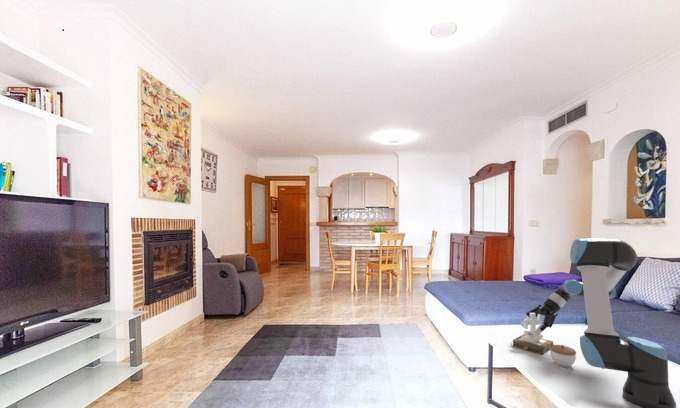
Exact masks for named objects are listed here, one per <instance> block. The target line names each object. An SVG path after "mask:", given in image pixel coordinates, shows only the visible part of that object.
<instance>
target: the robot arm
mask: <svg viewBox="0 0 680 408" xmlns="http://www.w3.org/2000/svg"><path fill="white" fill-rule="evenodd" d="M569 254H570V255H569V257H570V262H571V263H572V264H574V265H576V269H577V270H579V272H580V273H581V280H582V281H578V280H576V279H566V280H565V281H563V282H562V283H561V285H559V287H557V289H555V291H554V292H552V294H551V295H550V296H549V297H548V298H546V300H545V301H544V302H543V305H541V304H539V305H538V306H536V307H535V308H533V309H531V310H530V311H528V312H526V313H525V314H526V317H525V318H524V319H530V313H535V314H536V318H538V314H541V315H542V316H544V319H543V321H542V323H541V324H539V326H538V327H537V328H536V330H535V331H534V332H535V333H536V334H537V335H539V334H542V333H543V331H545V330H546V329H547V328H552V327H553V326H554V323H555V320H556V318H557V316H558V315H559V313H558V312H559V311H560V310H561V308H562V307H564V306H565V304H566V303H568V301H570V299H571V298H573V297H574V296H575V297H576V296H577V297H583V298H584V299H583V300H584V306H585V307H584V308H585V314H586V321H587V328H586V329H585V330H584V332H583V334H584V335H583V334H582V335H581V336H580V337H579V346H580V349H581V350H580V351H581V353H582V357H583V358H584V360H585V362H586V363H587V364H588V365H589V366H591V367H593V368H599V369H603V370H605V369H607V370H612V371H620V372H625V373H626V372H627V377H626V380H625V381H624V382H625V383H624V384H623V386H622V396H623V398H625V399H626V400H627V401H629V402H631V403H633V404H635V405H637V406H639V407H642V408H677V403H676V399H675V398H674V395H673V393H672V391H671V388H670V386H669V385H670V383H669V359H668V352H667V350H666V348H665V347H664V346H663V345H660V344H659V343H656V342H654V341H650V340H648V339H643V338H640V337H635V336H627V337H625V340H621V338H620V335H619V334H618V333H617V331H616V330H614V323H613V314H612V307H611V302H610V299H613V298H615V297H616V288H615V286H616V285H617V284H618V283H619V281H620V280H621V279H622V278H623V277H624V275H625V274H626V272H627V271H631V270H632V269H633V268H634V267H635V266H636V264H637V262H638V254H637V252H636V250H635V249H634V248H633V247H632V246H631V245H630V244H629V243H627V242H626V241H623V240H621V239H616V238H589V237H585V238H576V239H574V240H573V241H572V244H571V246H570V253H569ZM524 319H523V320H521V322H520V323H519V324H520V326H522V327H523V328H524Z"/></svg>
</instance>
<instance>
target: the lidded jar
mask: <svg viewBox="0 0 680 408" xmlns="http://www.w3.org/2000/svg"><path fill="white" fill-rule="evenodd" d="M549 352H550V357H551V360H553V362H554V363H555V364H556V365H557V366H559V367H562V368H571V366H573V365H574V364H575V363H576V359H577V357H576V354H577V351H576V350H575V349H574V348H573V347H569V346H566V345H563V344H553V345H551V346H550V350H549Z"/></svg>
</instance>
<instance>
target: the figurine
mask: <svg viewBox="0 0 680 408" xmlns="http://www.w3.org/2000/svg"><path fill="white" fill-rule="evenodd" d="M542 317H543V315H541V314H538V316H537V317H536V314H535V313H530V319H525V318H524V319H523V320H524V327H523V328H524V329H525V330H524V331H523V334H525V335H526V337H527V339H529V340H530V341H540V340H541V338H542V339H543V337H544V335H543V334H542V333H540V334H539V335H537V334H536V333H535V332H534V331H535V330H536V329H537V328H536V327H537V325H541V324H542V323H543V319H542ZM528 326H530V327H528ZM528 328H529V331H528Z"/></svg>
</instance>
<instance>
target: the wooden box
mask: <svg viewBox="0 0 680 408" xmlns="http://www.w3.org/2000/svg"><path fill="white" fill-rule="evenodd" d="M551 345H554V341H553V340H549V339H545V338H543V337H542V338H541V340H540V341H530V340H529V339H527V337H526V335H525V334H524V333H523V334H521V335H519V336H518V337H515V338H514V339H512V347H514V348H518V349H521V350H524V351H527V352H531V353H534V354H538V355H542V356H543V355H545V354H547V353H548V352H550V346H551Z"/></svg>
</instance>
